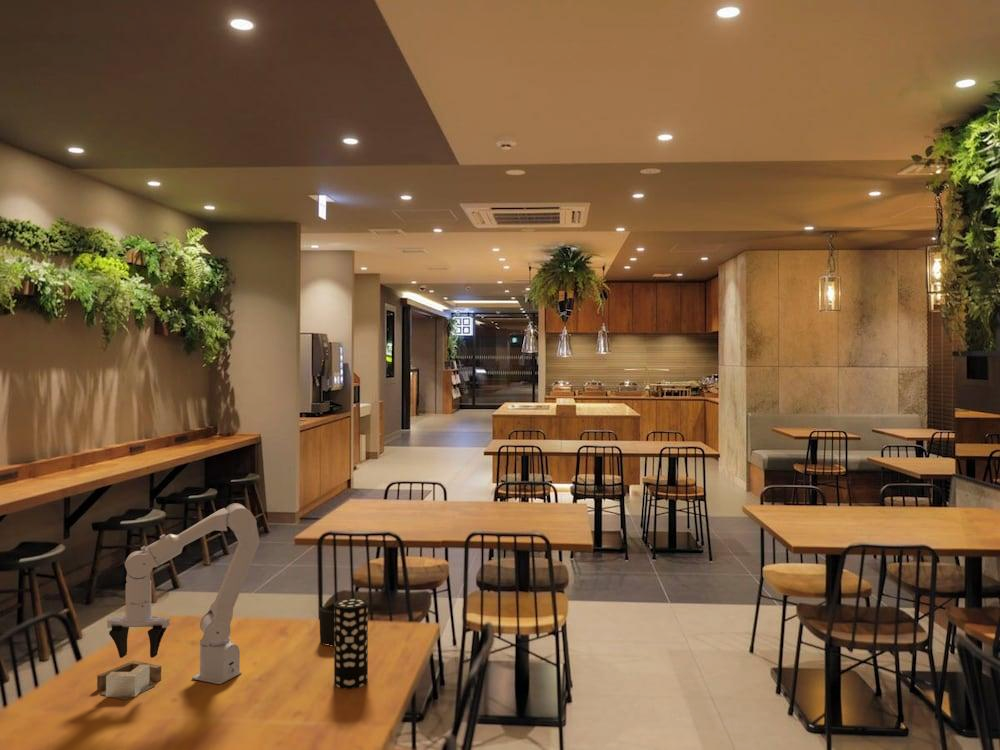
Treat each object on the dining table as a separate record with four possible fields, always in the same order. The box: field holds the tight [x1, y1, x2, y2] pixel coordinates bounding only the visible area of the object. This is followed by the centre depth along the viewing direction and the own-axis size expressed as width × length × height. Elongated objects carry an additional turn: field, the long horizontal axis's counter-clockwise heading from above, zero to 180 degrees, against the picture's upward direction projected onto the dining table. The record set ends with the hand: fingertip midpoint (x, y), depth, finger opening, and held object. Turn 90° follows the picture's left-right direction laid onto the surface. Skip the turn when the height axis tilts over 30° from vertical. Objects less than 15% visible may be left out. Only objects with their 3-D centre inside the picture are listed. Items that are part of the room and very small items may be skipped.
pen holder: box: [318, 602, 335, 645], centre depth 210 cm, size 9×9×10 cm
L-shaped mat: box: [99, 684, 156, 701], centre depth 176 cm, size 8×8×1 cm
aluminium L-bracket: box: [105, 665, 150, 698], centre depth 175 cm, size 7×7×5 cm
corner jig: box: [96, 660, 162, 691], centre depth 179 cm, size 10×10×4 cm
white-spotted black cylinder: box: [333, 597, 369, 690], centre depth 181 cm, size 8×8×20 cm
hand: (138, 656), depth 176 cm, fingers open, 7 cm apart
